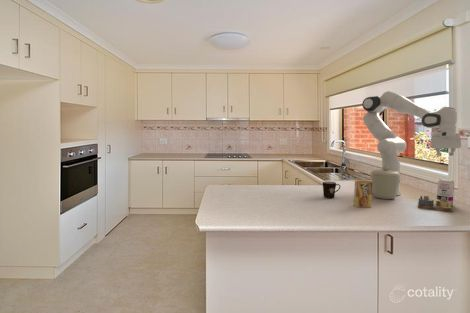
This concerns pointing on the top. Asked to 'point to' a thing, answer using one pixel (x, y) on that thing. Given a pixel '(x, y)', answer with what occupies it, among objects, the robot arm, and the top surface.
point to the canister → (385, 183)
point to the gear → (426, 201)
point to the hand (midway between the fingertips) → (445, 155)
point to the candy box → (363, 193)
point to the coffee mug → (329, 189)
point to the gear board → (435, 205)
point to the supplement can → (445, 189)
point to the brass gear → (443, 203)
